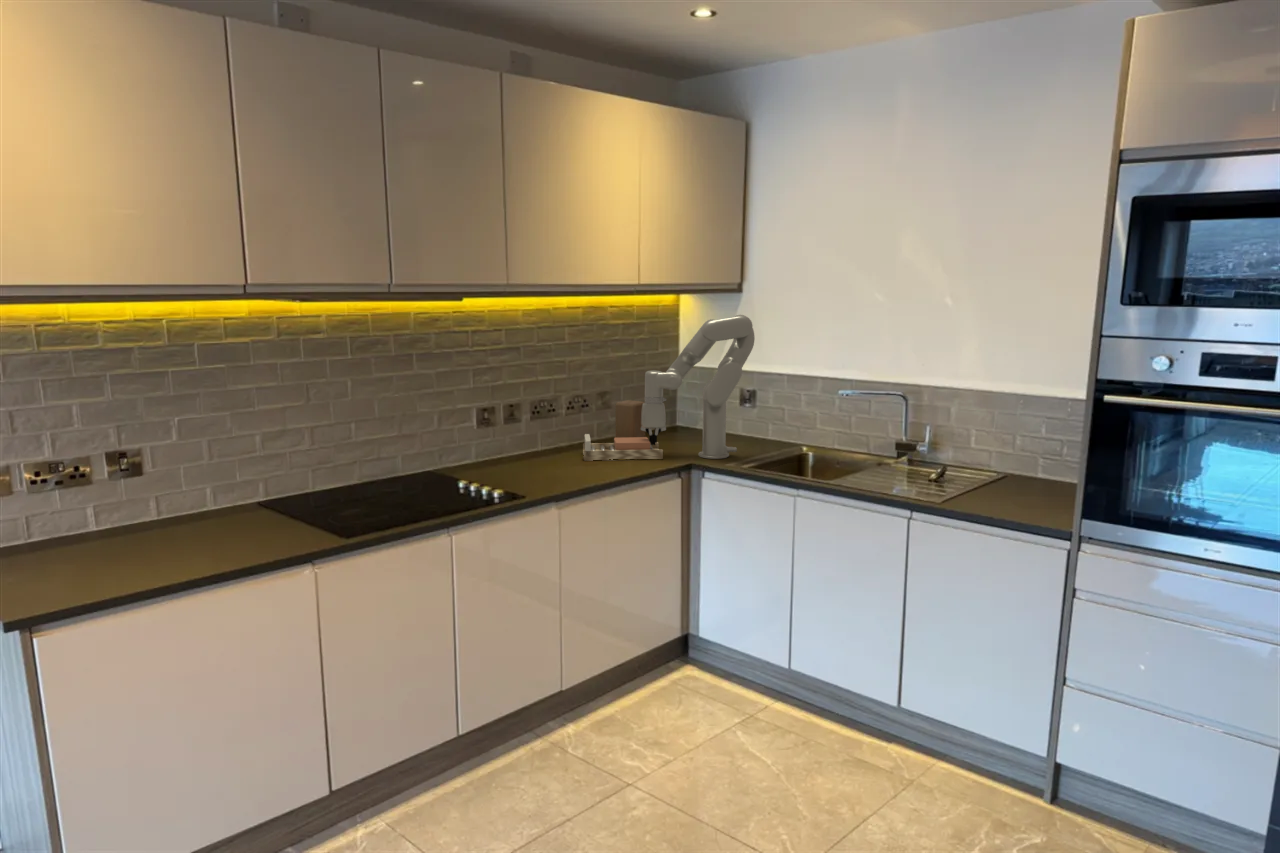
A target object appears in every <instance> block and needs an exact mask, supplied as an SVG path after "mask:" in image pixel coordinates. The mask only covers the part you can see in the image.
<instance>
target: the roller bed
mask: <svg viewBox="0 0 1280 853" xmlns="http://www.w3.org/2000/svg"><path fill="white" fill-rule="evenodd" d="M591 445H594V446H595V449H596V450H591V452H590V451H589V452H590V453H587V452H588V451H585V442H584V443H583V444H582V455H584V456H583V461H585V462H587V461H588V462H589V461H591V462H592V461H593V460H602V461H614V460H613V459H664V458H663V457H664V454H663V453H664V450H663V449H659V446H660V445H659V442H658V441H657V443H655V445H651V443H650V445H651V446H652V448H653V450H616V449H615V450H610V448H609V446H610V445H613V446H614V442H606V443H605V442H602V443H598V442H595V443H593V442H591ZM601 445H604V447H605V450H600V446H601ZM614 448H615V446H614ZM588 454H589V456H588ZM609 459H611V460H609ZM593 462H594V461H593Z"/></svg>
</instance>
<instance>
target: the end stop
mask: <svg viewBox="0 0 1280 853" xmlns="http://www.w3.org/2000/svg"><path fill="white" fill-rule="evenodd" d="M584 443H585V451H588V452H587V453H590V452H591V443H592V442H591V436H590V433H585V434H584ZM589 451H590V452H589ZM588 456H589V454H588Z"/></svg>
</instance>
